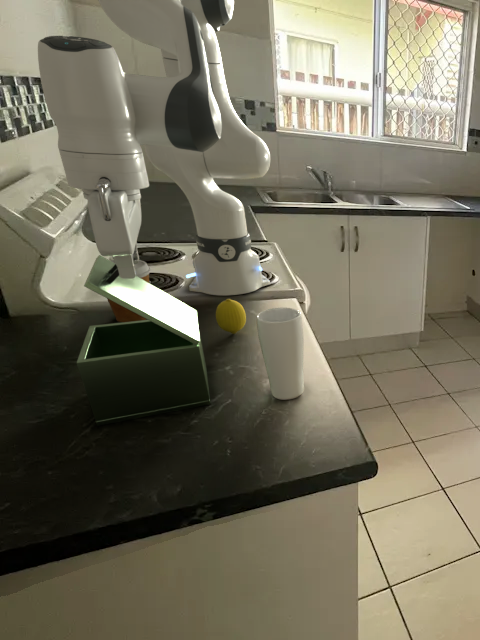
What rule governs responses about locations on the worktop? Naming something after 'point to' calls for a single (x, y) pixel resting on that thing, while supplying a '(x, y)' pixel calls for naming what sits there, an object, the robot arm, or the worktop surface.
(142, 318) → the disposable coffee cup
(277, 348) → the drinking glass
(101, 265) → the lid
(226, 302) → the lemon
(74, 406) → the worktop surface
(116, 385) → the green tapered box
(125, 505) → the worktop surface
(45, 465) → the worktop surface
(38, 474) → the worktop surface
